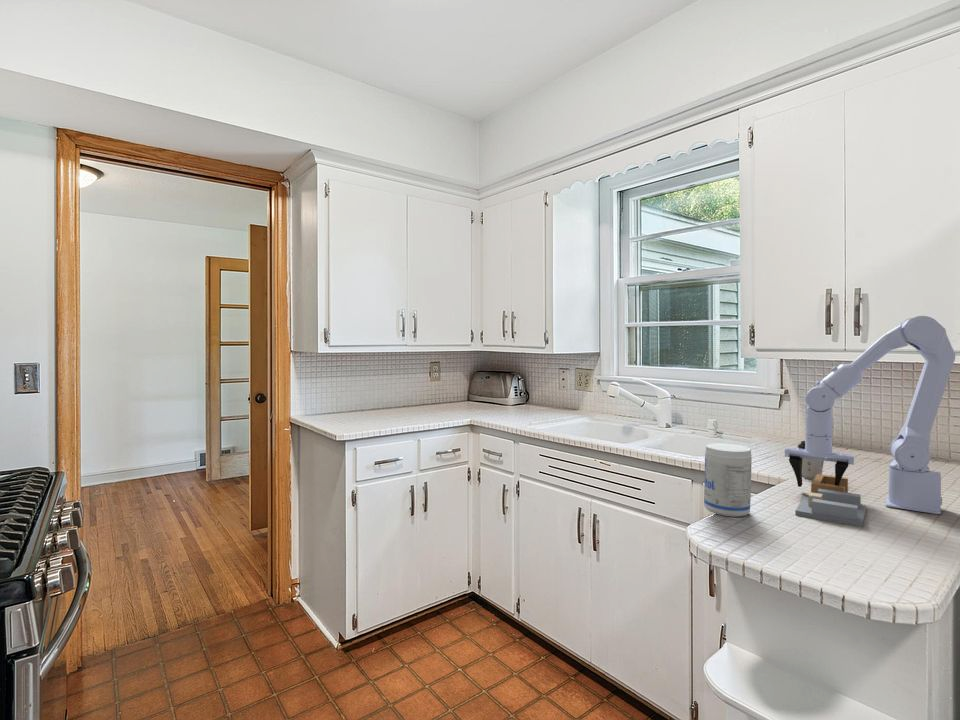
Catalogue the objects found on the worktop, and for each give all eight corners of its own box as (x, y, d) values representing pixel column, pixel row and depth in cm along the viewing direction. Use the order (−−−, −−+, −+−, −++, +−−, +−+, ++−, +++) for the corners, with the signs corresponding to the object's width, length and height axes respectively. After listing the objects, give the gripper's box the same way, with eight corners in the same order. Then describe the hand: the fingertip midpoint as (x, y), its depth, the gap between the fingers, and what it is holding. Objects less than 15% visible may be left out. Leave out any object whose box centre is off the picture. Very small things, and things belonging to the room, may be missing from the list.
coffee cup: (832, 479, 145) (832, 444, 144) (813, 481, 142) (813, 445, 142) (809, 473, 151) (809, 439, 151) (791, 475, 149) (791, 441, 149)
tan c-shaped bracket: (847, 493, 131) (848, 477, 131) (844, 504, 122) (844, 488, 121) (817, 489, 135) (817, 473, 135) (810, 499, 126) (811, 483, 126)
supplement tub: (696, 505, 122) (696, 443, 121) (734, 503, 123) (734, 442, 122) (719, 519, 112) (719, 451, 112) (760, 517, 113) (761, 450, 113)
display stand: (865, 510, 118) (866, 494, 118) (862, 526, 107) (862, 510, 107) (804, 500, 125) (804, 485, 125) (795, 514, 114) (795, 499, 114)
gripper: (855, 435, 128) (854, 490, 128) (788, 429, 137) (787, 480, 138) (853, 439, 123) (852, 496, 123) (783, 433, 132) (782, 486, 132)
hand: (817, 488), depth 130 cm, fingers open, 7 cm apart
